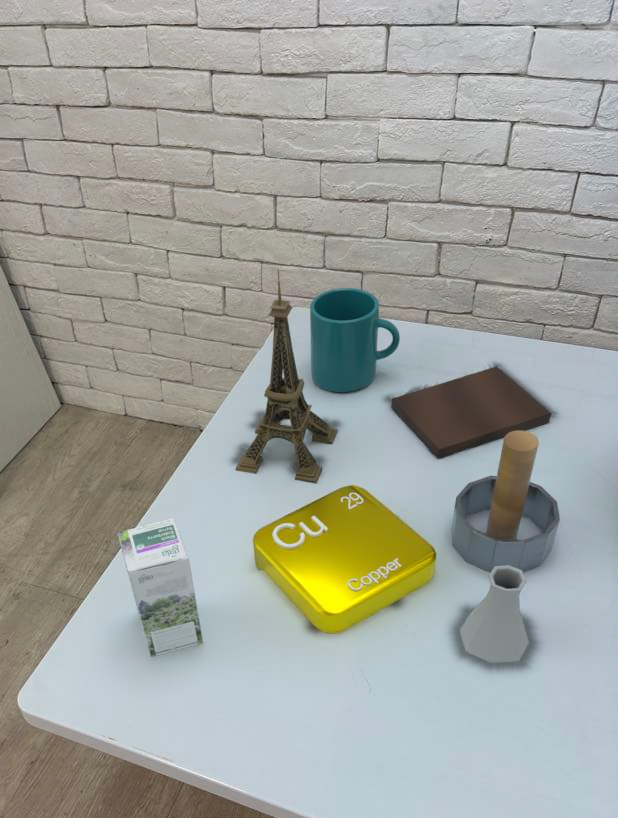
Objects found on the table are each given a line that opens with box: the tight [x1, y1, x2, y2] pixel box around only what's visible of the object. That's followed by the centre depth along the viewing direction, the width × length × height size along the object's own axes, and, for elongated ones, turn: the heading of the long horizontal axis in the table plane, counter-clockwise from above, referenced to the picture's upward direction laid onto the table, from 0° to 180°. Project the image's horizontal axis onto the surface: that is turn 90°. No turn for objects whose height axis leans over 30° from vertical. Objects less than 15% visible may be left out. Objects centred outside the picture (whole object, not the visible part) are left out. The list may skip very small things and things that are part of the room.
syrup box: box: [117, 517, 204, 657], centre depth 79 cm, size 6×6×14 cm
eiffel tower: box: [235, 268, 338, 484], centre depth 95 cm, size 11×11×25 cm
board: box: [390, 365, 552, 459], centre depth 104 cm, size 16×12×2 cm
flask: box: [459, 565, 530, 664], centre depth 76 cm, size 7×7×10 cm
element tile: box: [252, 484, 437, 635], centre depth 86 cm, size 15×15×5 cm
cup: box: [309, 287, 401, 393], centre depth 110 cm, size 9×12×11 cm
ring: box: [450, 475, 561, 574], centre depth 86 cm, size 10×10×6 cm
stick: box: [485, 430, 540, 540], centre depth 83 cm, size 3×3×15 cm
